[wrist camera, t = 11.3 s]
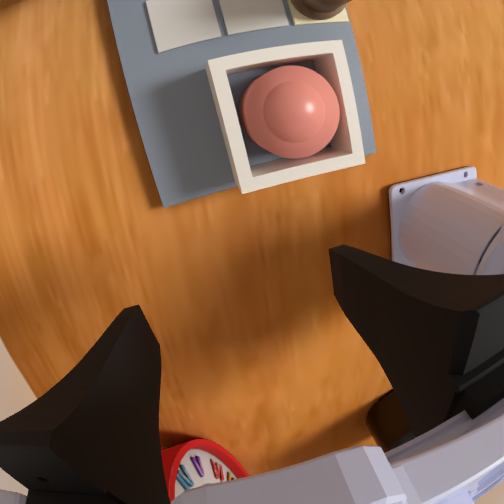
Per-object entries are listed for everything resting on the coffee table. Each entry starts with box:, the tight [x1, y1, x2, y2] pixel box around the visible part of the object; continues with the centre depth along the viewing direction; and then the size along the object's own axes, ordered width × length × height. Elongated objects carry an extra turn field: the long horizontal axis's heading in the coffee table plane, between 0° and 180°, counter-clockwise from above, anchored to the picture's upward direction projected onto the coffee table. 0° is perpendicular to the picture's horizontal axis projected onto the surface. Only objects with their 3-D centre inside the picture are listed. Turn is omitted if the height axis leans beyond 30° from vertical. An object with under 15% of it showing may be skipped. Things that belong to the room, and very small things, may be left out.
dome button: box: [238, 65, 340, 159], centre depth 16 cm, size 5×5×4 cm
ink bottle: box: [367, 391, 415, 453], centre depth 29 cm, size 10×9×12 cm
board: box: [107, 0, 376, 208], centre depth 15 cm, size 14×16×4 cm
